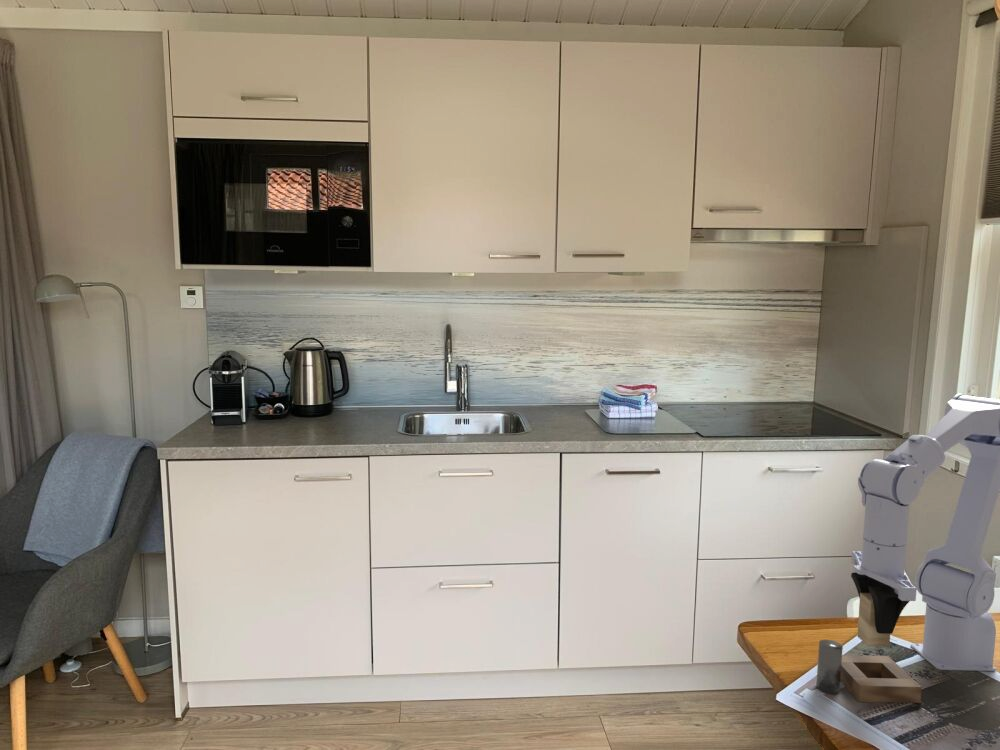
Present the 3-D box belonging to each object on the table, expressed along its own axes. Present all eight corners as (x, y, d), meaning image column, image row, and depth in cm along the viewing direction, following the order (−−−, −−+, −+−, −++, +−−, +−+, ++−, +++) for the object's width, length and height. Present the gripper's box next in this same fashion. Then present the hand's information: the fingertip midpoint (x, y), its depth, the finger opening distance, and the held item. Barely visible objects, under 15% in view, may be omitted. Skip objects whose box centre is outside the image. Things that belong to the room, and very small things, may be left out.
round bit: (833, 682, 108) (836, 639, 107) (843, 694, 105) (846, 650, 104) (812, 682, 108) (815, 639, 107) (821, 694, 105) (825, 649, 104)
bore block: (886, 670, 112) (888, 655, 111) (920, 703, 103) (921, 686, 102) (830, 669, 112) (831, 654, 111) (859, 701, 103) (860, 685, 102)
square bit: (878, 636, 108) (881, 593, 107) (889, 646, 105) (892, 601, 104) (857, 636, 108) (860, 592, 107) (868, 646, 105) (870, 601, 104)
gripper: (835, 524, 112) (829, 605, 113) (883, 557, 98) (876, 649, 99) (879, 525, 112) (872, 606, 113) (934, 558, 98) (926, 650, 99)
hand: (877, 626), depth 106 cm, fingers closed on square bit, 3 cm apart
